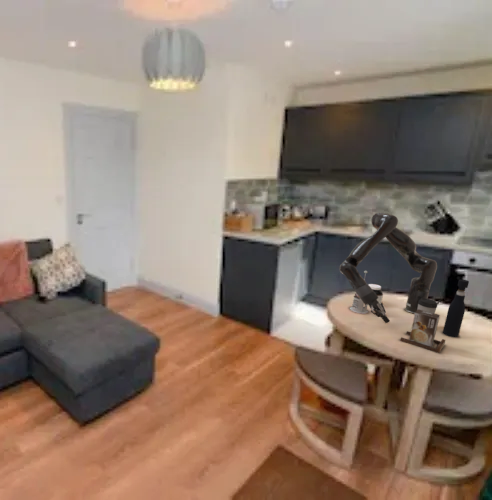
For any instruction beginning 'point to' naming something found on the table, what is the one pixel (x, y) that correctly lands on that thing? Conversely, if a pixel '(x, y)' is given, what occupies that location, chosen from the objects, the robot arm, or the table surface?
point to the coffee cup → (427, 305)
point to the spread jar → (377, 291)
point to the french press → (359, 304)
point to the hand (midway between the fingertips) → (387, 322)
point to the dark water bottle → (456, 311)
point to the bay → (438, 349)
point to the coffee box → (424, 327)
